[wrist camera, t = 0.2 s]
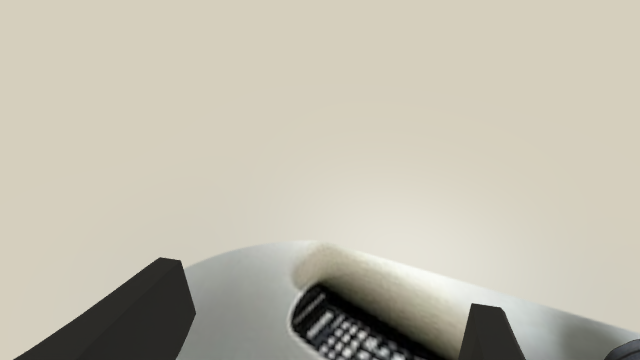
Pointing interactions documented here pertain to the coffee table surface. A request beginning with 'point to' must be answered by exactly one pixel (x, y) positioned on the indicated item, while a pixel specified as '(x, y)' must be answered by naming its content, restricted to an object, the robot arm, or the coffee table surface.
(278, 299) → the coffee table surface
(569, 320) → the coffee table surface
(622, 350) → the camera
